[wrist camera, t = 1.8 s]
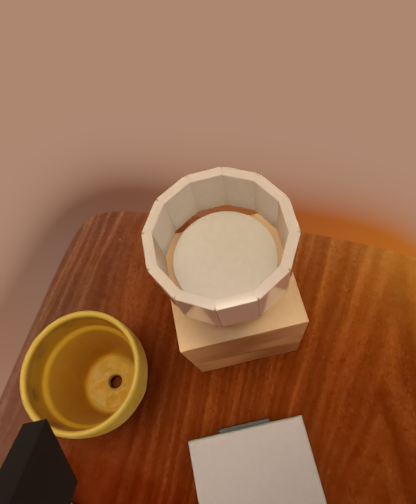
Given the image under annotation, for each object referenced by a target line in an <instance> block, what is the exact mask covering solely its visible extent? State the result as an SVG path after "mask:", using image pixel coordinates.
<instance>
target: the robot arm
mask: <svg viewBox="0 0 416 504" xmlns="http://www.w3.org/2000/svg"><path fill="white" fill-rule="evenodd" d="M76 484H77V480H76V478H75V475H74V473H73V471H72V469H71V467H70V465H69V463H68V461H67V459H66V457H65V455H64V453H63V451H62V449H61V447H60V445H59V443H58V441H57V439H56V436H55V434H54V432H53V430H52V428H51V426H50V424H49V422H48V420H47V419H43V420H38V421H34V422H30V423H26V424H23V425H22V427H21V429H20V431H19V433H18V435H17V437H16V439H15V441H14V443H13V445H12V447H11V449H10V451H9V453H8V455H7V457H6V459H5V461H4V463H3V465H2V467H1V469H0V504H71V502H72V499H73V495H74V492H75V488H76Z"/></svg>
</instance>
